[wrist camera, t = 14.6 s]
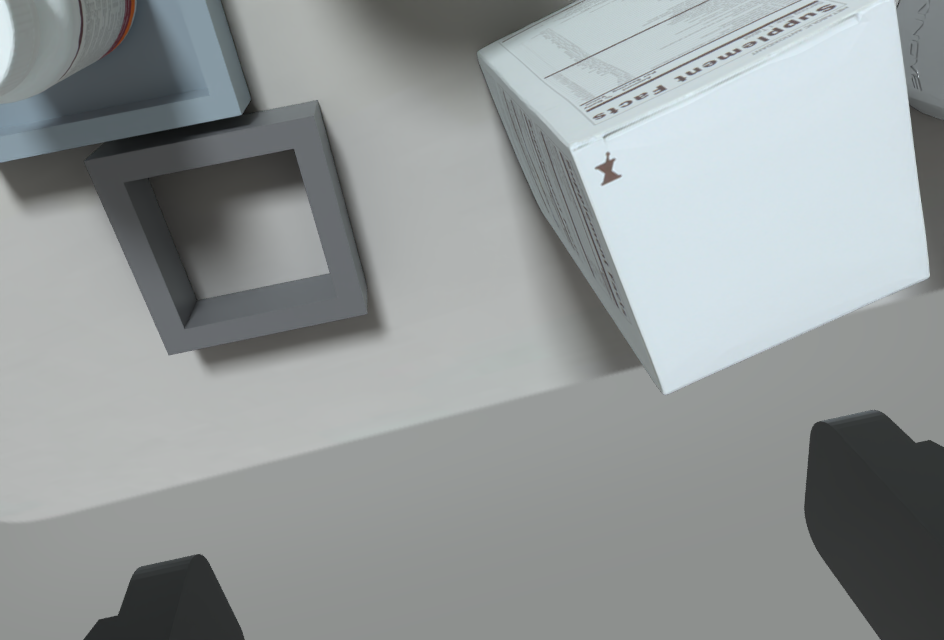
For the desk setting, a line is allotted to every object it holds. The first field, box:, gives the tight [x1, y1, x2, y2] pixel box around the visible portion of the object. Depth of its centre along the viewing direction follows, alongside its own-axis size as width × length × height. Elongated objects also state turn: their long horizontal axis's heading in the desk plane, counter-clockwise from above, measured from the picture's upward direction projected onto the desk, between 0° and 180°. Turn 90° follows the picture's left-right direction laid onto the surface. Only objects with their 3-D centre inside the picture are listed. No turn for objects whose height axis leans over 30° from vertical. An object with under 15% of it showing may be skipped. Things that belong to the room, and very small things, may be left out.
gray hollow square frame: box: [84, 100, 367, 355], centre depth 35 cm, size 10×10×3 cm
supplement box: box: [477, 0, 930, 395], centre depth 28 cm, size 10×9×17 cm
